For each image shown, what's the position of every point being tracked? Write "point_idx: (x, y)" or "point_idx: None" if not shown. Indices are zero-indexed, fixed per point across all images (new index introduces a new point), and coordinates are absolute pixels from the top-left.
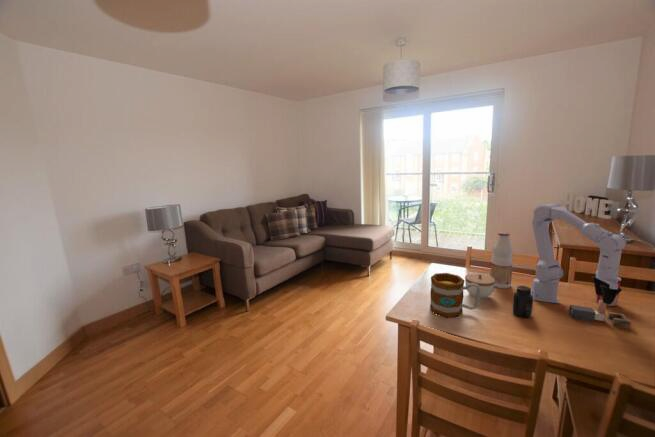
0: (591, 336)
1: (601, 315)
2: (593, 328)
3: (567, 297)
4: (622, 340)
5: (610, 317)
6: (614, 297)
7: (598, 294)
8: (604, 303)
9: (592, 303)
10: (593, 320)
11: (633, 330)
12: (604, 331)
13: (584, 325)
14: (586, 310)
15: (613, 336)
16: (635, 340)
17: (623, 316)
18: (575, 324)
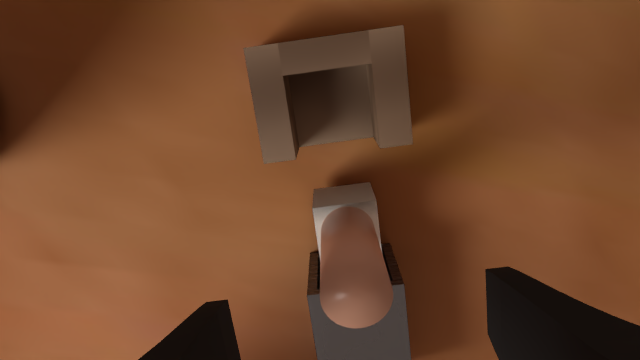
0: (634, 286)
1: (377, 227)
2: (504, 260)
3: (13, 351)
4: (620, 119)
5: (297, 142)
6: (602, 315)
7: (234, 347)
8: (389, 280)
9: (14, 204)
10: (391, 251)
11: (407, 6)
12: (521, 203)
13: (481, 304)
14: (390, 338)
15: (579, 163)
16: (585, 33)
17: (305, 61)
18: (491, 349)
